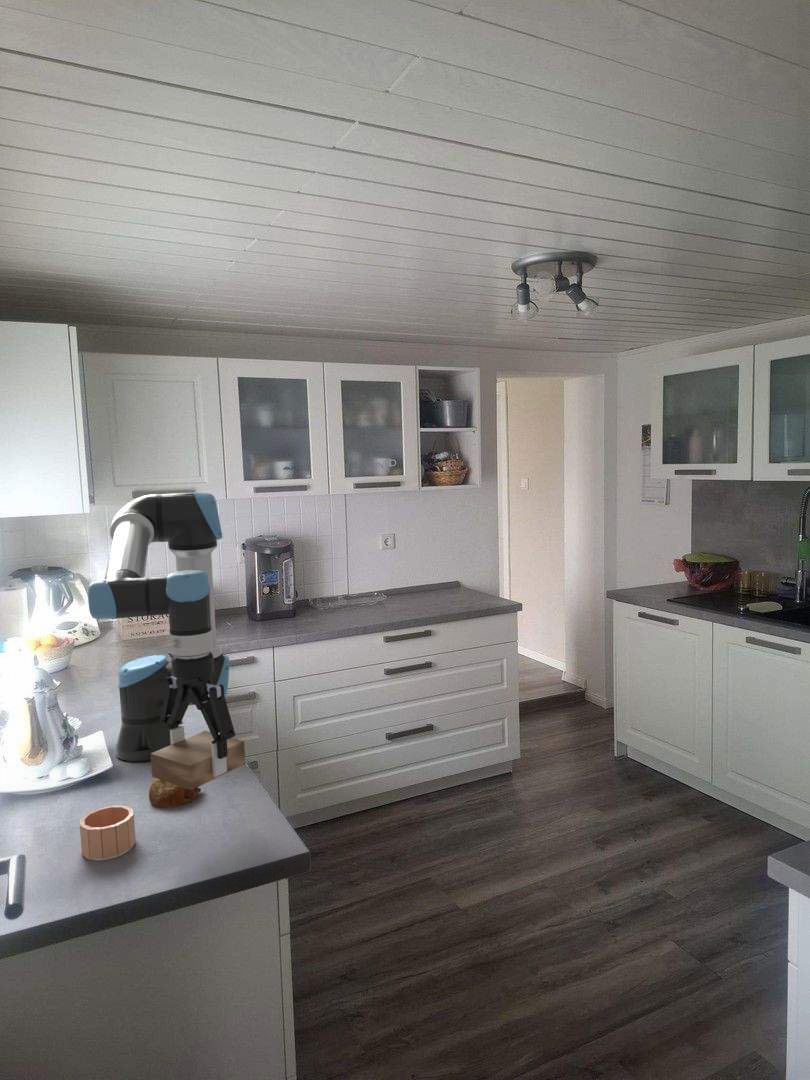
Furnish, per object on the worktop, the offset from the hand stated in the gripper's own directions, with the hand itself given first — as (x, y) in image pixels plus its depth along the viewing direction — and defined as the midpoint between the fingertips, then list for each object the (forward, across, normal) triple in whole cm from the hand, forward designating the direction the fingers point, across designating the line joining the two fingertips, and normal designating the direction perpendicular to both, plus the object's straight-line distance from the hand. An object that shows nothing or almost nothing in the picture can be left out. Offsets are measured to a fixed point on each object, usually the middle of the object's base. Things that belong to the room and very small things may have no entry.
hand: (198, 767), depth 135 cm
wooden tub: (+14, -12, -12) cm, 22 cm away
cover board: (+1, 0, 0) cm, 1 cm away
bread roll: (+14, -18, +8) cm, 25 cm away
